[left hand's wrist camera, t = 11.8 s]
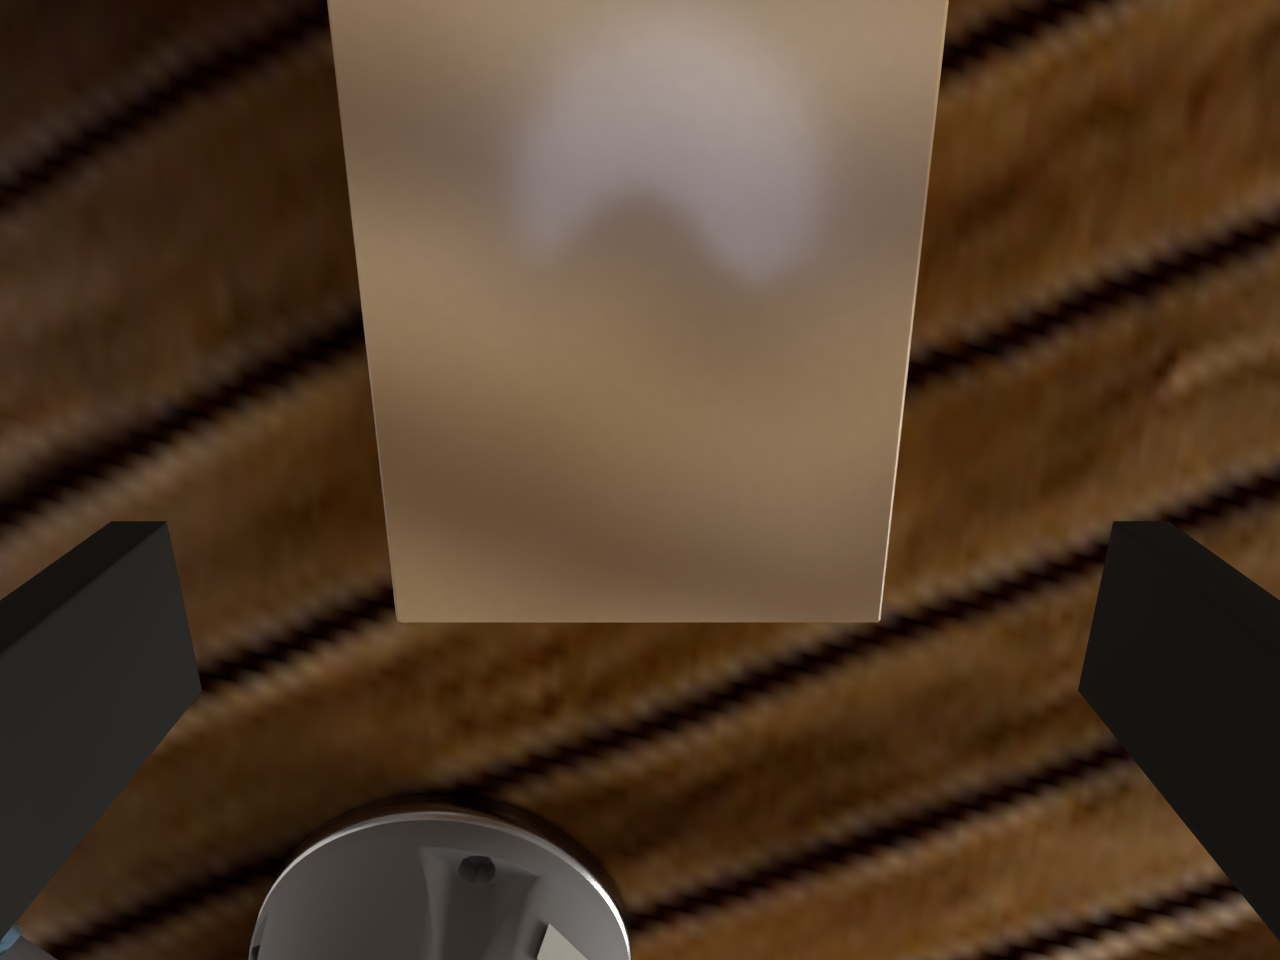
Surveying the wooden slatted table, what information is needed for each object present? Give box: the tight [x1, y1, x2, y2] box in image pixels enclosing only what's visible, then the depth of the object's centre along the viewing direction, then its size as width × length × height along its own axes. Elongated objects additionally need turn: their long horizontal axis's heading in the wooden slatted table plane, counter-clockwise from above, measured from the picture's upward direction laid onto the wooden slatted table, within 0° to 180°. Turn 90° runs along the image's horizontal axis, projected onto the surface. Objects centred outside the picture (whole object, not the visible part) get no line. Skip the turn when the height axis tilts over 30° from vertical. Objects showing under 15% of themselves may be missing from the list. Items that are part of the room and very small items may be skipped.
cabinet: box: [327, 0, 949, 622], centre depth 21 cm, size 18×10×11 cm, turn 0°
